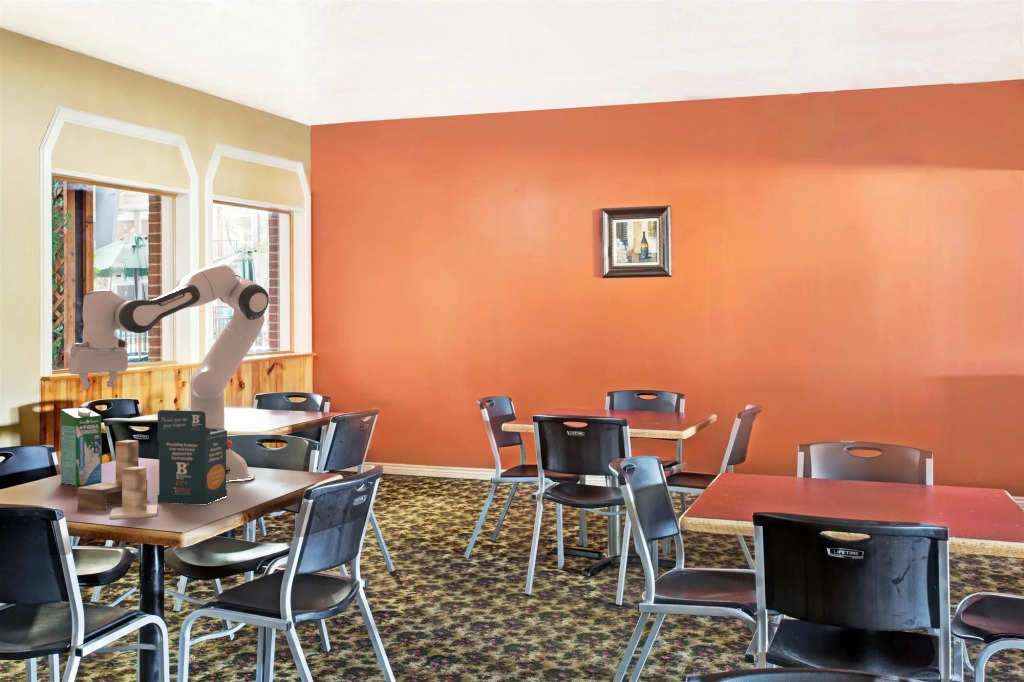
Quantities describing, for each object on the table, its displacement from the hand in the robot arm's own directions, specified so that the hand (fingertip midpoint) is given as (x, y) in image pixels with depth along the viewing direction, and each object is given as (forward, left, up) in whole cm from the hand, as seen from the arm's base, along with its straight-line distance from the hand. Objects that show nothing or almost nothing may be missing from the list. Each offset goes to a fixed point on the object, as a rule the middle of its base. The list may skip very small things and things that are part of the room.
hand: (98, 387), depth 270 cm
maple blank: (-11, +25, -33) cm, 43 cm away
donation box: (-28, +9, -34) cm, 45 cm away
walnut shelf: (-5, +9, -34) cm, 35 cm away
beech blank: (-8, +5, -28) cm, 30 cm away
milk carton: (+8, -32, -34) cm, 48 cm away
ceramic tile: (-11, +25, -34) cm, 44 cm away
